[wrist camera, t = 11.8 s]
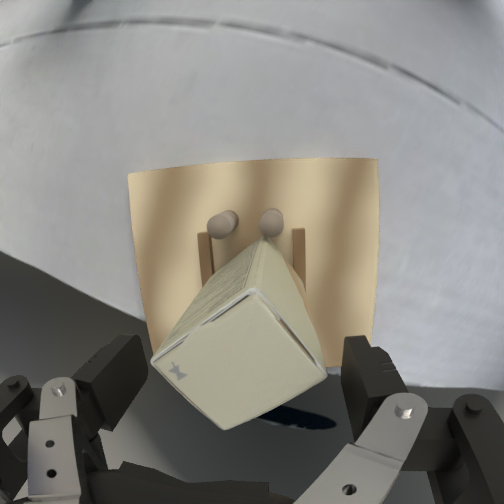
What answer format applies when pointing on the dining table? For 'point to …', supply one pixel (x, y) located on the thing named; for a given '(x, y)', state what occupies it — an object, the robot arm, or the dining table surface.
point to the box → (244, 340)
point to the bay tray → (256, 226)
